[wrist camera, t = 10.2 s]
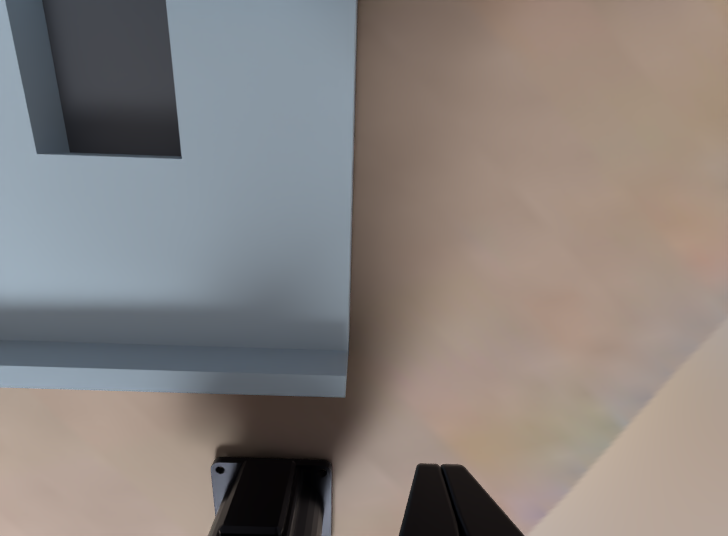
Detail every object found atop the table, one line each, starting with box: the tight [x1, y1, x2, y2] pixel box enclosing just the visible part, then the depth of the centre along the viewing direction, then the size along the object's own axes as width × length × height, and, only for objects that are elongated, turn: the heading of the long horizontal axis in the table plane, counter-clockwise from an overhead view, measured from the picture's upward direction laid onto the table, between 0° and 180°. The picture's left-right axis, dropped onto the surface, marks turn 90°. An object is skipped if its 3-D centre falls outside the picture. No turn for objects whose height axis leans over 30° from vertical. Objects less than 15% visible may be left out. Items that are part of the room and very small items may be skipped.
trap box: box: [0, 0, 358, 398], centre depth 16 cm, size 16×26×4 cm, turn 88°
